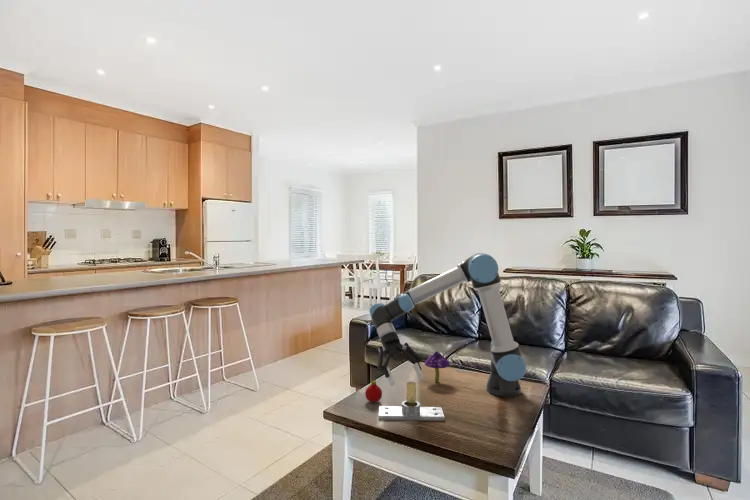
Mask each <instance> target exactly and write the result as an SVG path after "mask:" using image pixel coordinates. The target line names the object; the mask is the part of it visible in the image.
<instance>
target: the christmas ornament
mask: <svg viewBox="0 0 750 500" xmlns="http://www.w3.org/2000/svg"><path fill="white" fill-rule="evenodd" d="M370 383H371V384H370V385H369V386H368V387H367V388H366V390H365V394H364V395H365V398H366V400H367V401H369V402H370V403H377V402H379V401H380V400H381V399H382V396H383V391H382V389H381V387H380V386H379V385H377V380H376V379H374V378H372V380H371V382H370Z"/></svg>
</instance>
